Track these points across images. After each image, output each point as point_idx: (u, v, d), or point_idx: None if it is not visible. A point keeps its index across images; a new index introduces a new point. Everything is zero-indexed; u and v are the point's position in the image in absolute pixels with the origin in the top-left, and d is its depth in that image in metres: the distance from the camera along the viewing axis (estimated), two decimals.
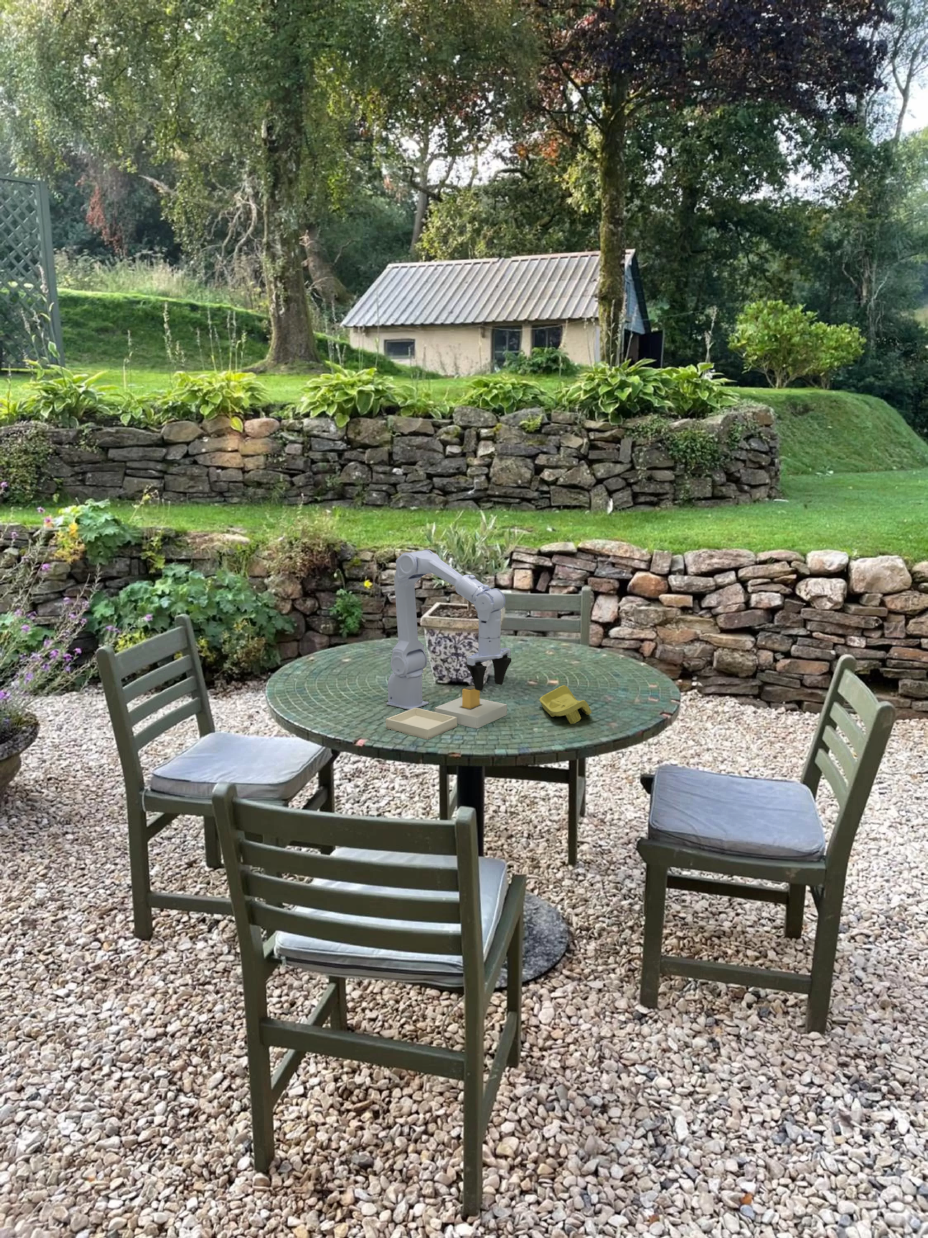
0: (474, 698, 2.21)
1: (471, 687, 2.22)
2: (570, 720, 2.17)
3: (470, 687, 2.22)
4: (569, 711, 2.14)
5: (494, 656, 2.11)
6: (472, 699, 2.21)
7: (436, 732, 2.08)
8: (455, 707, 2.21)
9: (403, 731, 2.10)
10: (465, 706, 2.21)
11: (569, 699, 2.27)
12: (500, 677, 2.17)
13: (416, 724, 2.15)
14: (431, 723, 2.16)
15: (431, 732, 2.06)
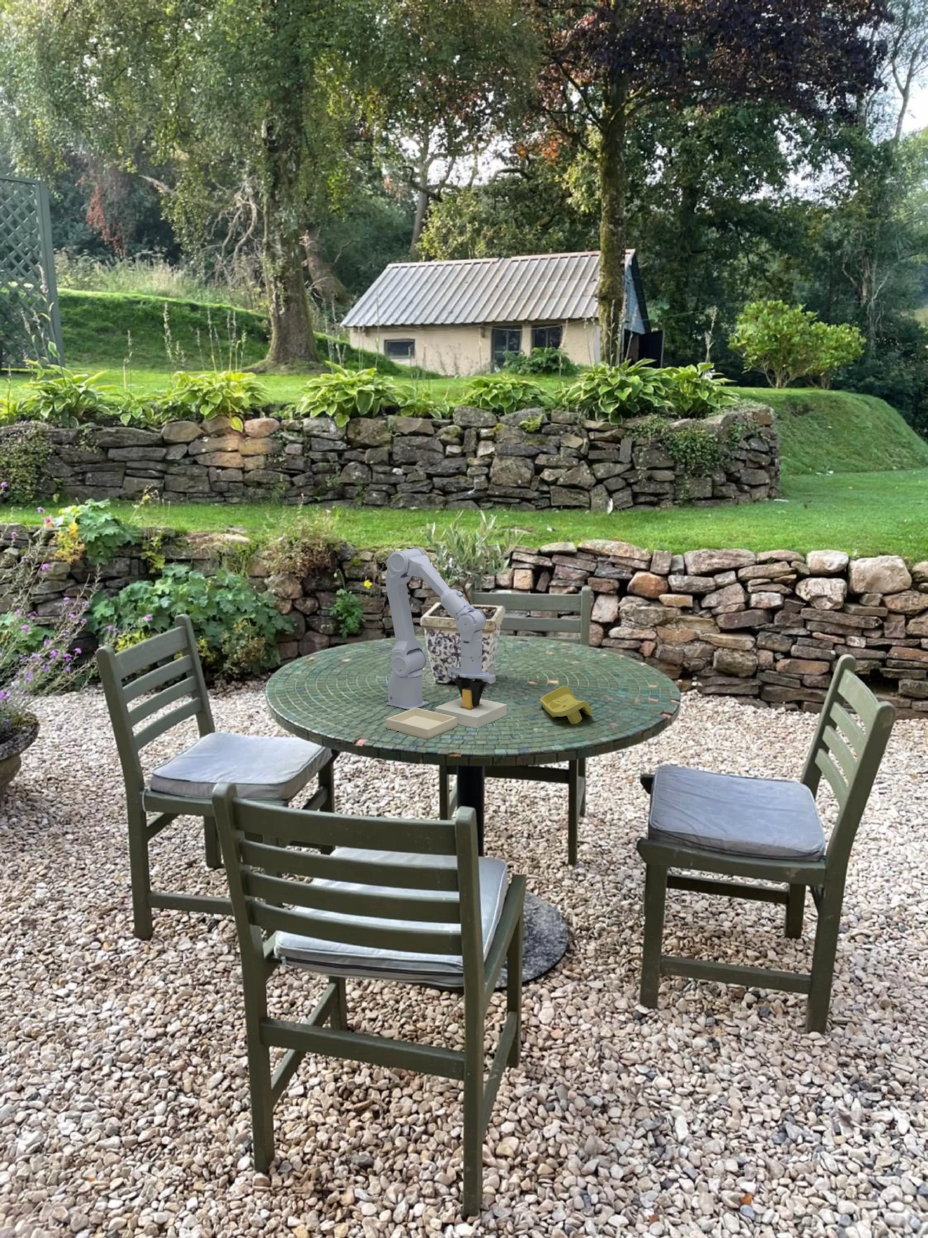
0: None
1: None
2: (571, 720, 2.17)
3: (470, 687, 2.22)
4: (570, 711, 2.13)
5: (461, 674, 2.19)
6: None
7: (436, 732, 2.08)
8: (455, 707, 2.21)
9: (403, 731, 2.10)
10: (465, 706, 2.21)
11: (570, 699, 2.27)
12: None
13: (416, 724, 2.15)
14: (431, 723, 2.16)
15: (431, 732, 2.06)
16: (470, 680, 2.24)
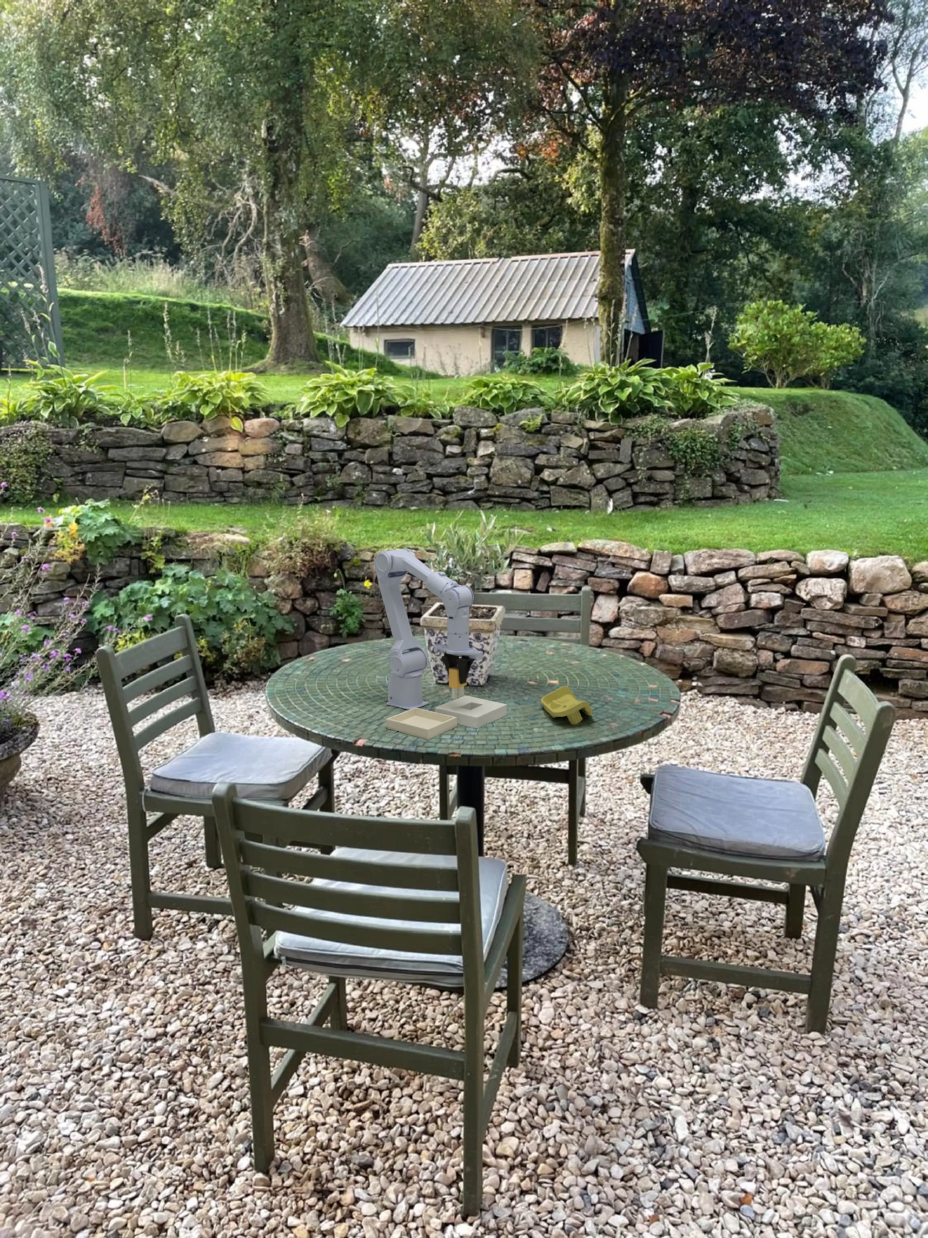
0: None
1: None
2: (571, 721, 2.17)
3: (457, 667, 2.18)
4: (570, 712, 2.13)
5: None
6: None
7: (436, 732, 2.08)
8: (455, 707, 2.21)
9: (403, 731, 2.10)
10: (452, 686, 2.17)
11: (570, 700, 2.27)
12: None
13: (416, 724, 2.15)
14: (431, 723, 2.16)
15: (431, 732, 2.06)
16: (457, 657, 2.20)
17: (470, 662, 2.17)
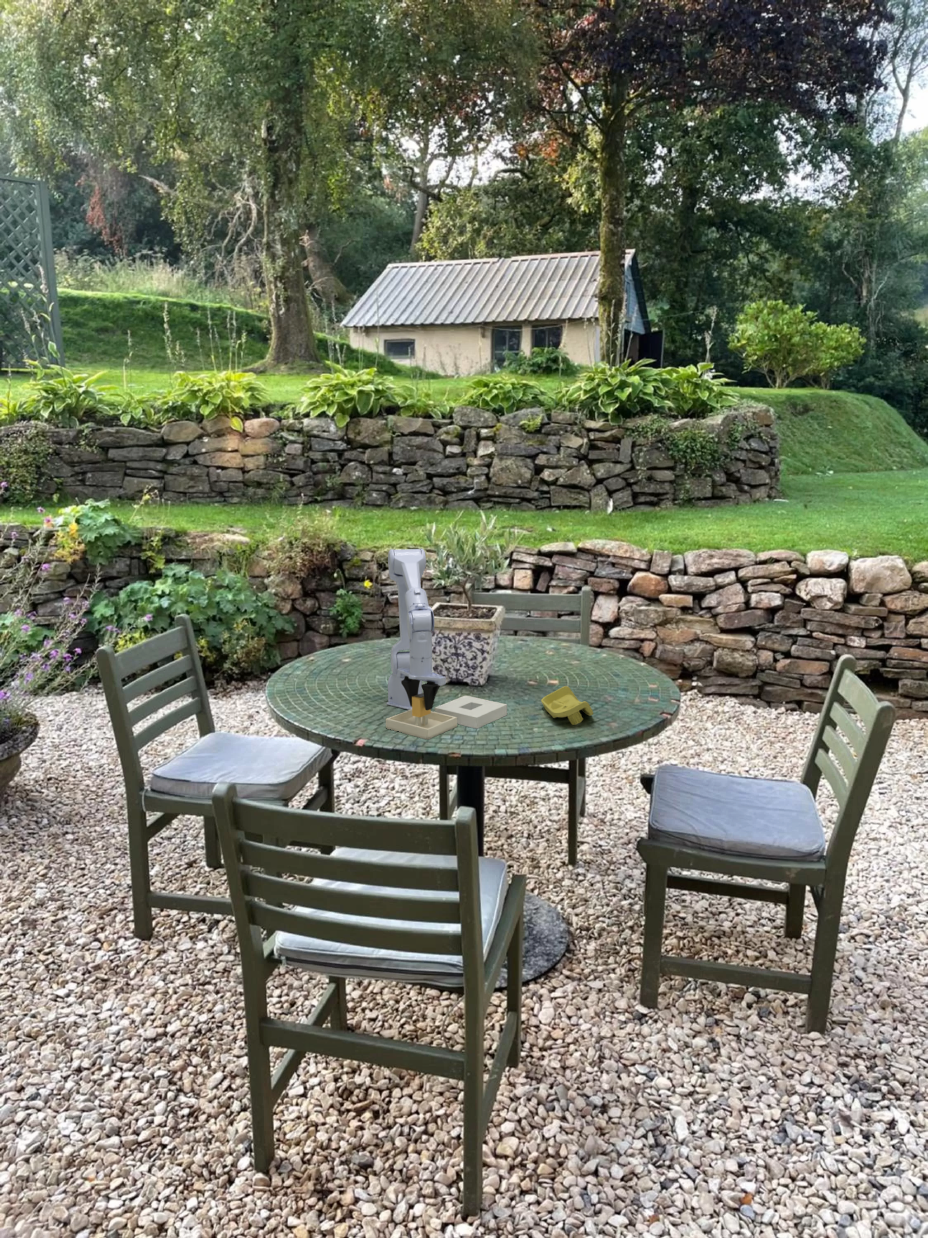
0: (424, 706, 2.12)
1: (421, 695, 2.13)
2: (572, 721, 2.17)
3: (420, 695, 2.13)
4: (571, 712, 2.13)
5: None
6: (422, 707, 2.12)
7: (436, 732, 2.08)
8: (455, 707, 2.21)
9: (403, 731, 2.10)
10: (415, 714, 2.12)
11: (571, 700, 2.26)
12: None
13: None
14: (431, 723, 2.16)
15: (431, 732, 2.06)
16: (418, 681, 2.15)
17: (436, 688, 2.11)
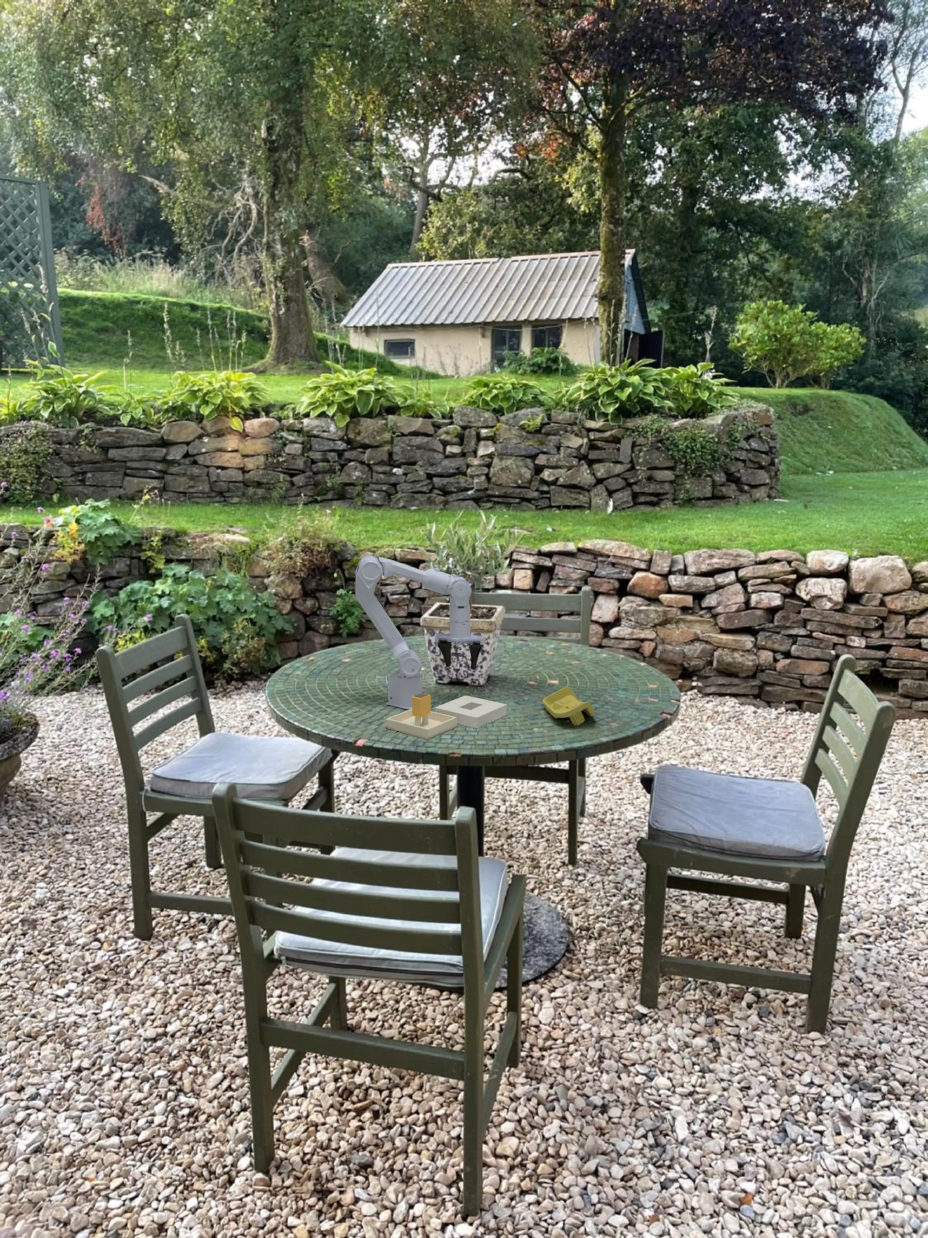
0: (424, 706, 2.12)
1: (421, 695, 2.13)
2: (574, 722, 2.16)
3: (420, 695, 2.13)
4: (573, 713, 2.12)
5: None
6: (422, 707, 2.12)
7: (436, 732, 2.08)
8: (455, 707, 2.21)
9: (403, 731, 2.10)
10: (415, 714, 2.12)
11: (572, 700, 2.26)
12: None
13: None
14: (431, 723, 2.16)
15: (431, 732, 2.06)
16: (450, 644, 2.35)
17: (479, 648, 2.31)
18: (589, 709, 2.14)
